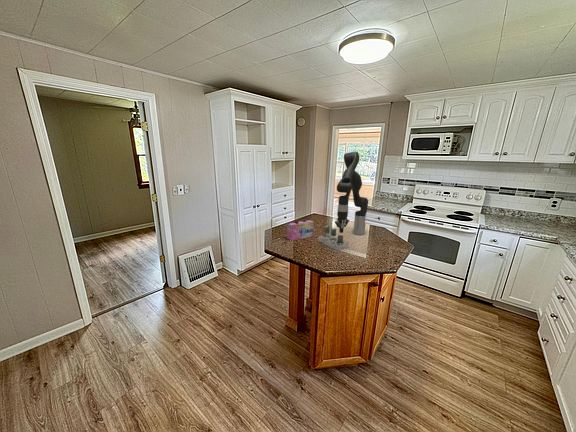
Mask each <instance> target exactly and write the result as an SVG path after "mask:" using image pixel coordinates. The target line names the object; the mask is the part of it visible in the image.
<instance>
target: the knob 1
mask: <svg viewBox="0 0 576 432" xmlns="http://www.w3.org/2000/svg"><path fill="white" fill-rule="evenodd" d="M330 227H331V226H330V225H324V233H325V234H330V231H331V229H330Z"/></svg>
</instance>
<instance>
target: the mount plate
mask: <svg viewBox="0 0 576 432" xmlns="http://www.w3.org/2000/svg"><path fill="white" fill-rule="evenodd" d="M317 241H318V242H319V243H321V244H323V245H325V246H327V247H329V248H331V249H333V250H335V251H339V250H344V249H348V248H349V245H350V244H349V241H347V240H344V239H343V243H338V242H337V241H338V236H331V233H327V234H323V235H318V240H317Z"/></svg>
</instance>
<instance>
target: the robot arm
mask: <svg viewBox="0 0 576 432" xmlns="http://www.w3.org/2000/svg"><path fill="white" fill-rule="evenodd" d="M343 161H344V164H345V165H344V166H345V167H346V168H345V170H344V171H343V173H342V176H341V178H340V181H339V182H338V183H337V185H336V191H337V192H338V193H340V194H341V193H343V194H344V195H339V196H338V203H337V204H338V205H337V213H336V214H337V215H336V216H337V218H336V220H335V221H334V224H335V225H336V227H337V228H339V229H338V230H339V231H338V232H339V233H340V234H343V233H344V228H346V227H347V225H348V223H349V222H350V219H348V217H349V198H350V195H351V192H352V198H353V204H354V206H355V207H357V208H360V210H356V211H355V212H354V221H353V234H354V235H355V236H356V235H357V236H362V235H366V234H365V231H366V226H367V225H366V217H367V212H368V206H369V199H368V198H367V197H362V196H360V191H361V189H362V186H363V180H362V176H361V175H360V174H359V173H358V172H357V171H356V169H357V167H358V165H359V162H360V153H359V152H358V151H351V152H346V153H344V154H343Z"/></svg>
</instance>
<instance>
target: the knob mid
mask: <svg viewBox="0 0 576 432" xmlns="http://www.w3.org/2000/svg"><path fill="white" fill-rule="evenodd" d="M330 234H331V236H335V237H337V228H333V227H332V228H331V229H330Z"/></svg>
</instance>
